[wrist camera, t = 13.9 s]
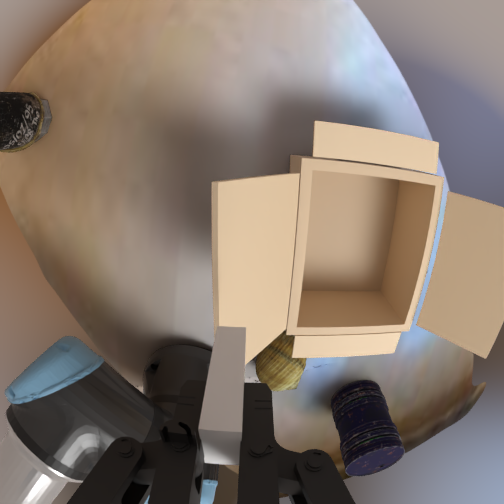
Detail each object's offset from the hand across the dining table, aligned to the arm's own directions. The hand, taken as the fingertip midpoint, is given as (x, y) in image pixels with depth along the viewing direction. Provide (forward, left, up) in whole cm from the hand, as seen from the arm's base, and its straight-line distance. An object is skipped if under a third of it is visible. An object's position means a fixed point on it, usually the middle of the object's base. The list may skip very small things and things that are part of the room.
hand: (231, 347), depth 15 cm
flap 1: (+5, 0, -13) cm, 13 cm away
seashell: (+8, -17, -22) cm, 29 cm away
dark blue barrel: (+21, -31, -22) cm, 43 cm away
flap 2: (+20, 0, -13) cm, 24 cm away
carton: (+12, 0, -22) cm, 25 cm away
